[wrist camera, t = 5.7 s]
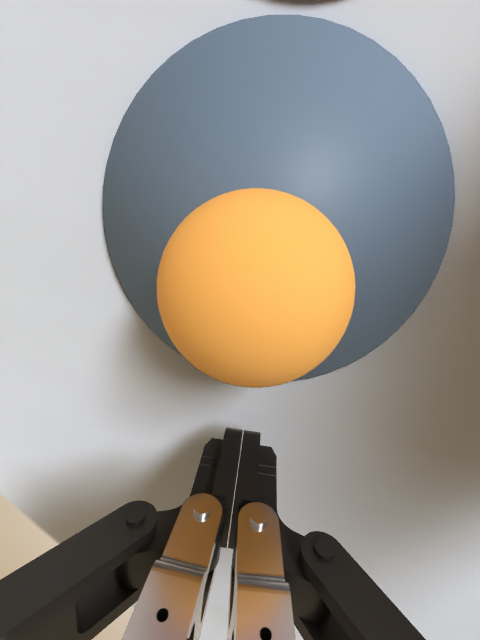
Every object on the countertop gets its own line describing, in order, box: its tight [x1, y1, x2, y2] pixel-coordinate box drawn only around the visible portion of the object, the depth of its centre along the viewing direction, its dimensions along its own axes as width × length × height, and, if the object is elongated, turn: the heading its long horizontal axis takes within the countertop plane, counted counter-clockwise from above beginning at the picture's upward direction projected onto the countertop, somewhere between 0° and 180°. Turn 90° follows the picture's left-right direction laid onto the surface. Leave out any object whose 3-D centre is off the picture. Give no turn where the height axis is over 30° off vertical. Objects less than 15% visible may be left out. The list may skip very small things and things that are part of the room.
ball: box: [157, 188, 356, 387], centre depth 10 cm, size 6×6×6 cm
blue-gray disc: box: [103, 15, 455, 381], centre depth 13 cm, size 13×13×1 cm
